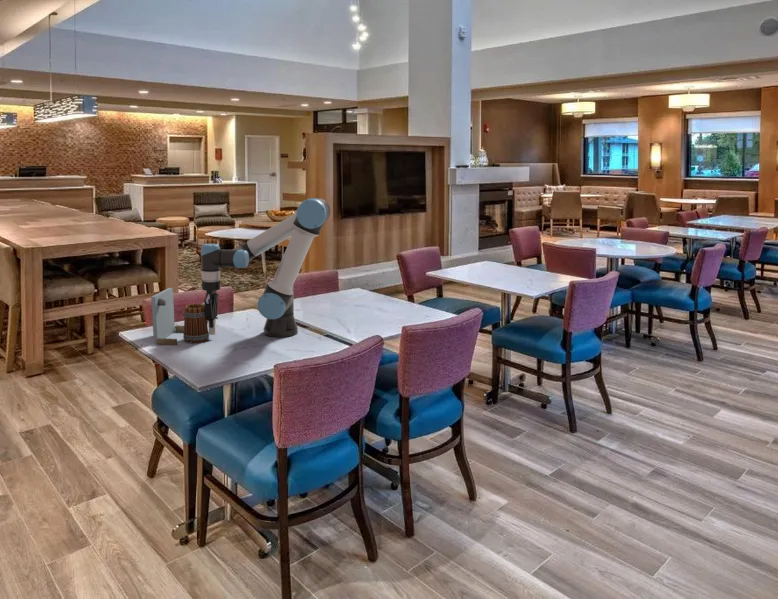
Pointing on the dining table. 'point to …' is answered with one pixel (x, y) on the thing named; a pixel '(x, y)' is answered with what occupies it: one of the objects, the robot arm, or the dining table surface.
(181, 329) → the tan support feet
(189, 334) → the mug
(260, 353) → the dining table surface
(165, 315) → the door
